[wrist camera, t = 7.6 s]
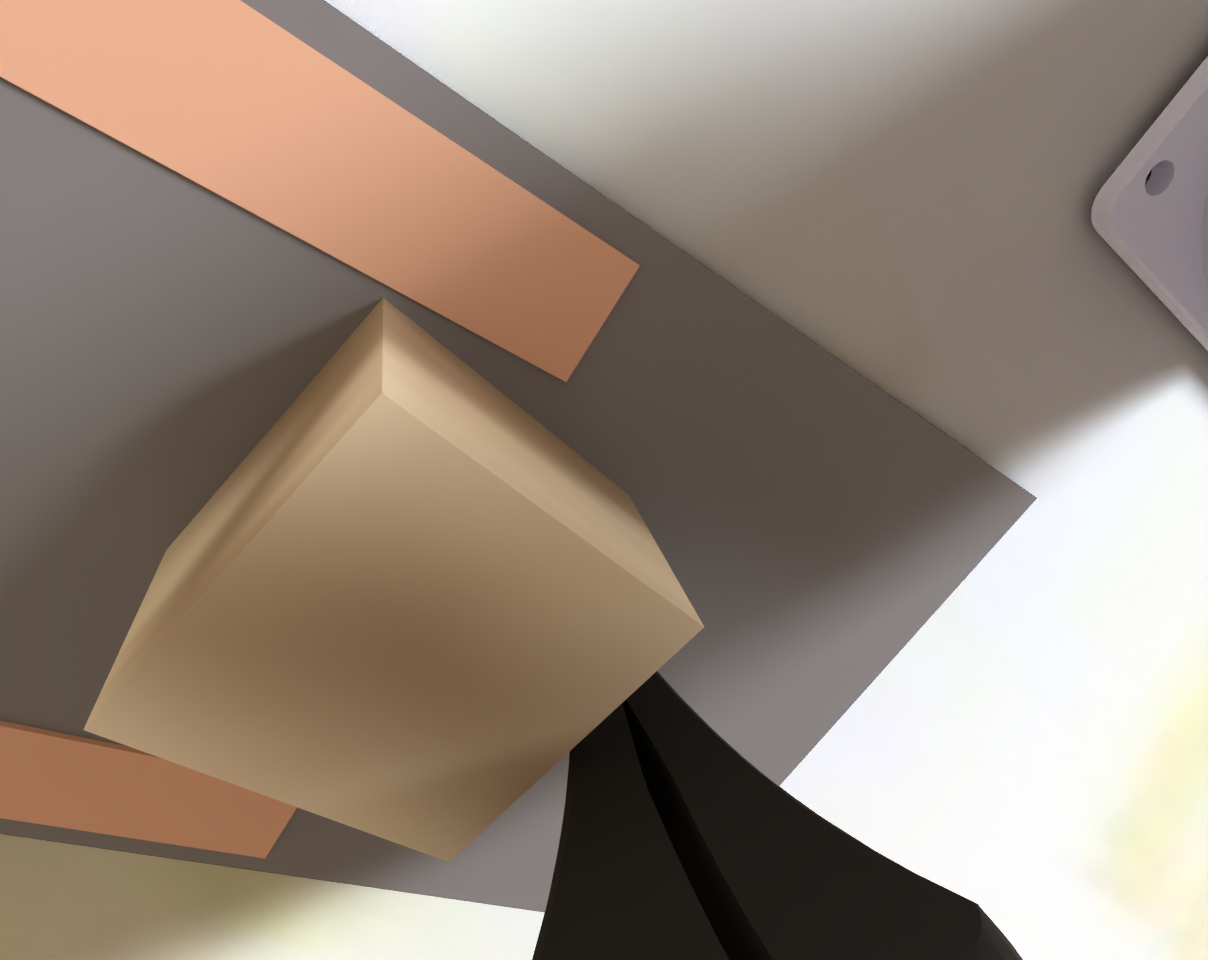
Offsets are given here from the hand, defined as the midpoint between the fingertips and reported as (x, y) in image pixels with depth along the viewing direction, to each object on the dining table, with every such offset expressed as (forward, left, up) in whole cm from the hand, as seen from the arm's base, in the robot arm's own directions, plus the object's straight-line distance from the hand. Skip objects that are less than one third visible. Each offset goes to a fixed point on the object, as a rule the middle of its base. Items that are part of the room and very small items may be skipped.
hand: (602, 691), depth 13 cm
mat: (0, -3, -1) cm, 3 cm away
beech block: (-1, -4, -1) cm, 5 cm away
